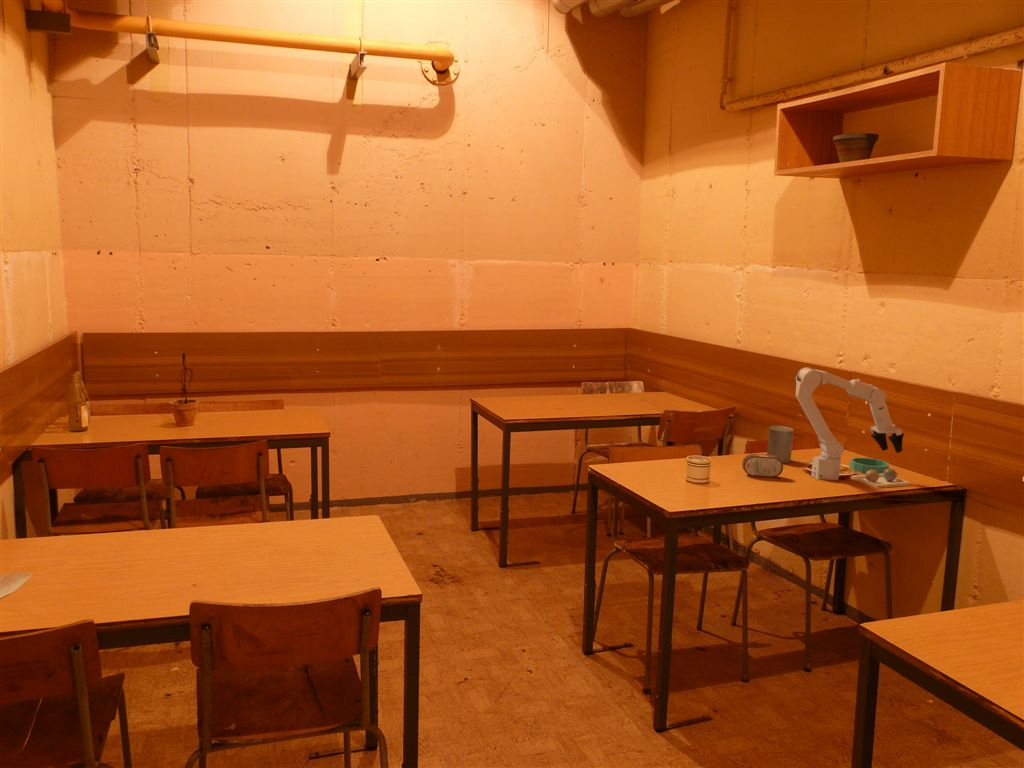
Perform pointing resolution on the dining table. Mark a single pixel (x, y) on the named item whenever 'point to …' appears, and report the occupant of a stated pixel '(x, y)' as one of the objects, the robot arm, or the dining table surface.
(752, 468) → the tin
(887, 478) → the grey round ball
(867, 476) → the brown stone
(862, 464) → the teal bowl
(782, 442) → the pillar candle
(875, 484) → the tray
